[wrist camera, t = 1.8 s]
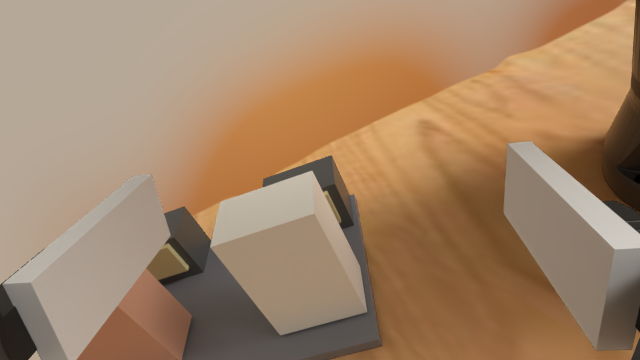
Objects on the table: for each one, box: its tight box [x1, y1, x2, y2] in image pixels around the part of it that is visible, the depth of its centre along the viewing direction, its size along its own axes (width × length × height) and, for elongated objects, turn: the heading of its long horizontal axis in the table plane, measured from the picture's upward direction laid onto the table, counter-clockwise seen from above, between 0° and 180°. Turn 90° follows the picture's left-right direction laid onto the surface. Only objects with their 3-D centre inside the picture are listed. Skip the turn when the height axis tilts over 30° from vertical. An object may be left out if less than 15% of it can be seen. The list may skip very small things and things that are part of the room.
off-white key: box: [210, 171, 367, 335], centre depth 35 cm, size 5×8×12 cm, turn 93°
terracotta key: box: [77, 269, 192, 360], centre depth 38 cm, size 5×8×12 cm, turn 93°
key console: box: [146, 155, 382, 360], centre depth 42 cm, size 18×27×7 cm
